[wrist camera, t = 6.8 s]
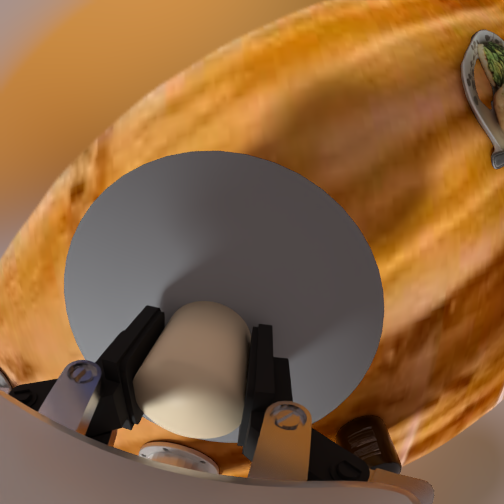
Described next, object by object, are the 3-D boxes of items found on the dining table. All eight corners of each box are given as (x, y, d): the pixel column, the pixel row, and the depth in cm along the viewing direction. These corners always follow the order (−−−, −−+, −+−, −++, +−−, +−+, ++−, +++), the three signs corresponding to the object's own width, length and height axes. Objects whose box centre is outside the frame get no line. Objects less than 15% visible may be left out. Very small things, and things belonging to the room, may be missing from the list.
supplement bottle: (328, 445, 30) (340, 516, 18) (345, 414, 28) (366, 492, 17) (371, 442, 30) (391, 506, 18) (391, 412, 28) (421, 480, 17)
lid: (211, 456, 15) (200, 512, 10) (37, 294, 12) (-18, 329, 8) (422, 339, 12) (468, 396, 7) (230, 78, 9) (207, 17, 5)
